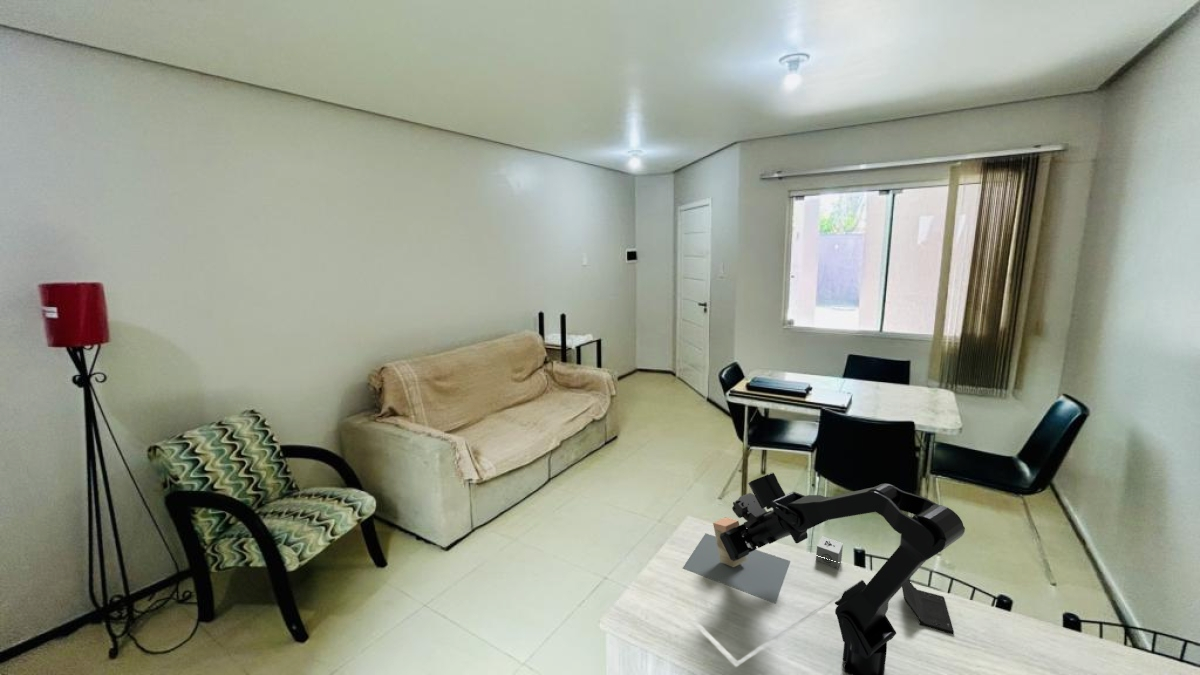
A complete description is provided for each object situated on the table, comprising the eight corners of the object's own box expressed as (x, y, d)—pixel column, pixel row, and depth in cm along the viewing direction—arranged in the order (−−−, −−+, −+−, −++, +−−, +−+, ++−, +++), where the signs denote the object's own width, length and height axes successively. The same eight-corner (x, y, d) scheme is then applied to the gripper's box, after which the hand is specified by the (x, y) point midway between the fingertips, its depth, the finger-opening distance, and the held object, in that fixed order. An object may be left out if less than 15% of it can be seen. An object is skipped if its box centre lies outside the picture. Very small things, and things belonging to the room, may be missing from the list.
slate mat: (790, 563, 119) (790, 560, 118) (775, 606, 105) (775, 603, 105) (705, 535, 131) (705, 533, 130) (682, 570, 117) (682, 568, 117)
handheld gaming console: (966, 630, 96) (934, 587, 97) (932, 644, 98) (901, 601, 99) (944, 597, 107) (915, 559, 108) (914, 610, 109) (886, 572, 110)
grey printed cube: (820, 552, 123) (821, 536, 122) (841, 560, 119) (843, 543, 118) (815, 563, 119) (817, 545, 118) (837, 571, 116) (838, 553, 115)
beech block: (746, 560, 117) (738, 520, 118) (733, 567, 115) (725, 526, 115) (733, 555, 121) (725, 517, 121) (720, 562, 119) (712, 522, 119)
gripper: (783, 479, 113) (745, 499, 124) (727, 502, 103) (692, 521, 115) (809, 525, 108) (768, 541, 119) (753, 554, 98) (714, 568, 110)
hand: (736, 541), depth 116 cm, fingers closed
